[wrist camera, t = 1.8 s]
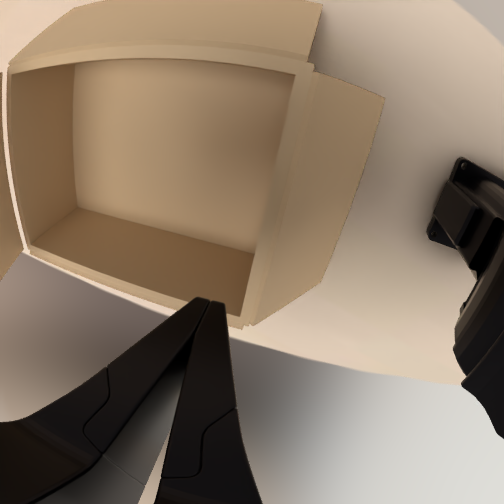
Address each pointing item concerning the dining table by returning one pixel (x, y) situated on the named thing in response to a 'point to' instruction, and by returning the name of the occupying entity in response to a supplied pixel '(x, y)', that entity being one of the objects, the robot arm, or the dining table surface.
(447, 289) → the dining table surface
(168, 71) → the carton
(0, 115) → the flap
